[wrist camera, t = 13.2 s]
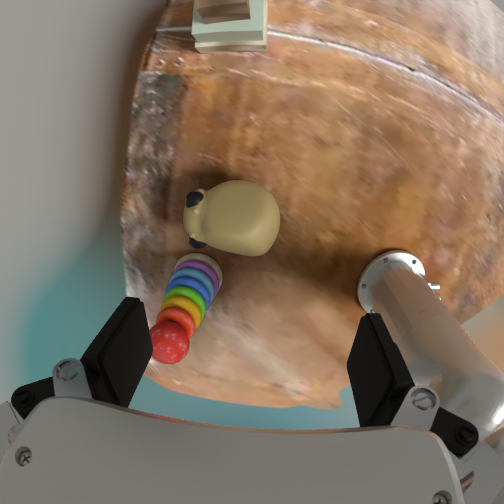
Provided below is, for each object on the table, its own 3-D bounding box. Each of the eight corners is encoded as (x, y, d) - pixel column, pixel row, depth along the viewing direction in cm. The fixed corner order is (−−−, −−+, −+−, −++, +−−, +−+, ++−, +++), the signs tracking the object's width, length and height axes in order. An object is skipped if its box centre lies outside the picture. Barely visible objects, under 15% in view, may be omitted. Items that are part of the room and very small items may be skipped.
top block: (264, -8, 24) (262, -21, 21) (263, 40, 28) (262, 30, 24) (202, -5, 25) (195, -17, 21) (199, 43, 28) (191, 34, 25)
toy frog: (197, 171, 39) (172, 185, 29) (282, 178, 38) (286, 195, 29) (195, 236, 43) (174, 268, 33) (275, 244, 42) (275, 279, 33)
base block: (267, 2, 28) (267, -10, 24) (266, 53, 32) (266, 44, 28) (205, 4, 28) (198, -6, 25) (202, 54, 32) (194, 47, 28)
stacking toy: (167, 258, 45) (115, 331, 28) (212, 244, 43) (176, 320, 26) (187, 298, 48) (150, 380, 30) (230, 288, 46) (208, 374, 29)
